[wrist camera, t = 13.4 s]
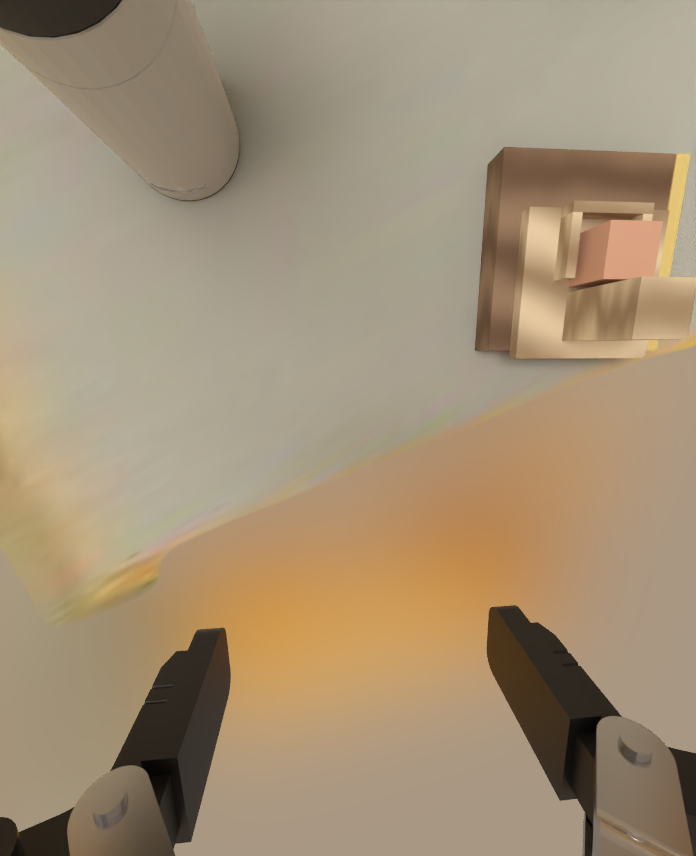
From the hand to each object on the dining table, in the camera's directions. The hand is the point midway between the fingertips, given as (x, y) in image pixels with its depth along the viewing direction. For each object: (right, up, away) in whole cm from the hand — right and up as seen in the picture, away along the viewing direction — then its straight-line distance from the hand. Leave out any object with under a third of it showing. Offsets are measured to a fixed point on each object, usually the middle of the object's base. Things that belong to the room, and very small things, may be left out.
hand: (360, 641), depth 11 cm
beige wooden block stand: (+20, +19, +22) cm, 35 cm away
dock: (+20, +22, +24) cm, 38 cm away
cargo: (+20, +20, +20) cm, 35 cm away
